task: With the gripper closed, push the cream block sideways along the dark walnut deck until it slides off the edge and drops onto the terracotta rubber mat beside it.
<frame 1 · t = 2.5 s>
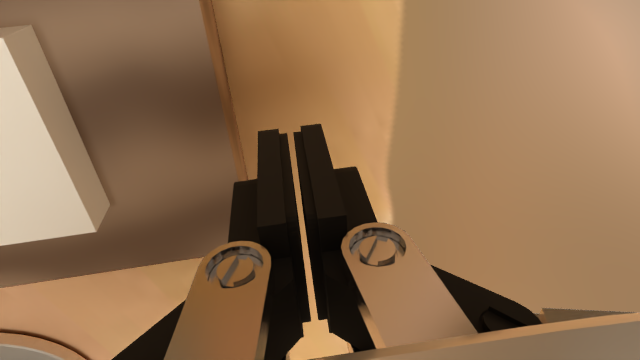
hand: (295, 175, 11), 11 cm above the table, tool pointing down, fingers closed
deck: (63, 97, 20), on the table
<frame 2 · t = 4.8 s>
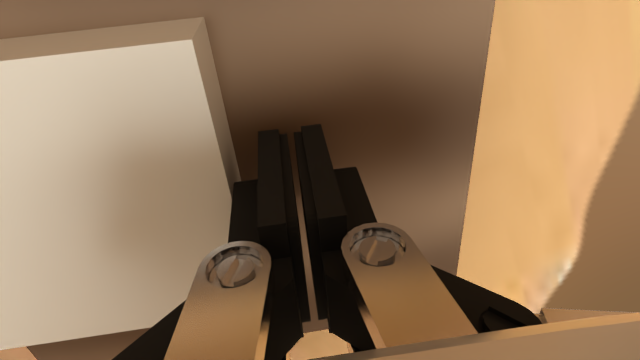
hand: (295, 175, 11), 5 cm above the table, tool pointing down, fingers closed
cream block: (94, 182, 11), point 4 cm above the table, touching gripper
deck: (217, 114, 15), on the table
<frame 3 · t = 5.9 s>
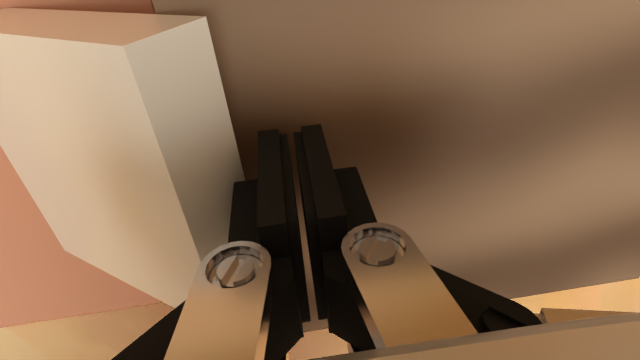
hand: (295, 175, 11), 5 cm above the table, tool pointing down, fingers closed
cream block: (142, 151, 12), point 3 cm above the table, tilted 37°, touching gripper
deck: (428, 84, 15), on the table
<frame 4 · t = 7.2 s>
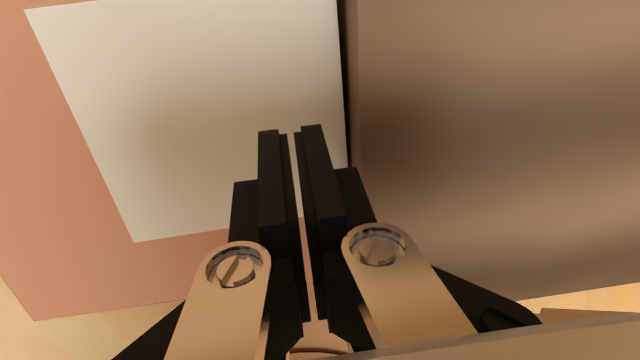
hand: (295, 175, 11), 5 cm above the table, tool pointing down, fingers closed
mat: (122, 126, 15), on the table
cream block: (222, 103, 14), resting on mat
deck: (543, 75, 16), on the table
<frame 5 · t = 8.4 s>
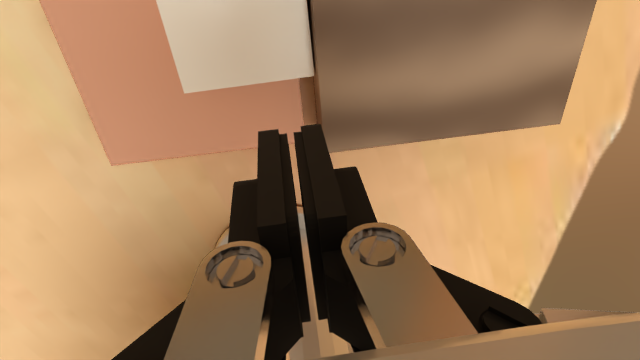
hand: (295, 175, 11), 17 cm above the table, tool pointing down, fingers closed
mat: (176, 23, 25), on the table
cream block: (237, 8, 24), resting on mat
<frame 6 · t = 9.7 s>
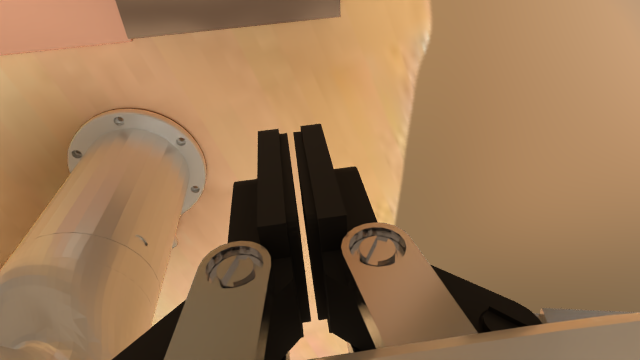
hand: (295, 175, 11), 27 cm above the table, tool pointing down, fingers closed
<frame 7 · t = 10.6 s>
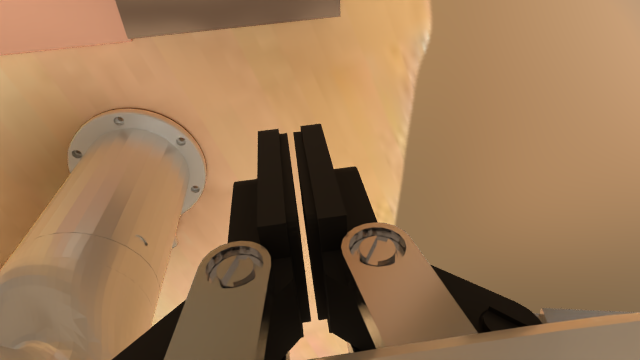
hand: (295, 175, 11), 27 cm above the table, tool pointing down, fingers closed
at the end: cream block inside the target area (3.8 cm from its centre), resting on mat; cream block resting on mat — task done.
